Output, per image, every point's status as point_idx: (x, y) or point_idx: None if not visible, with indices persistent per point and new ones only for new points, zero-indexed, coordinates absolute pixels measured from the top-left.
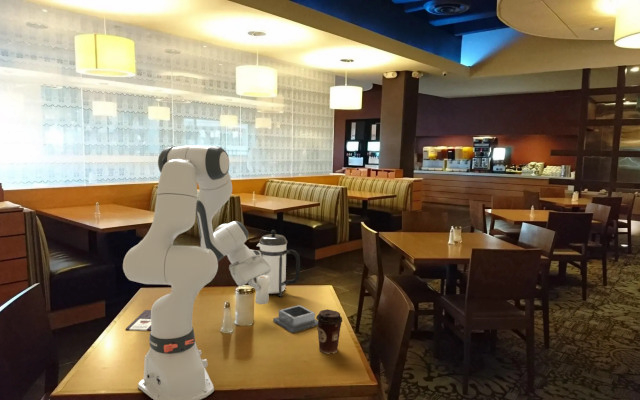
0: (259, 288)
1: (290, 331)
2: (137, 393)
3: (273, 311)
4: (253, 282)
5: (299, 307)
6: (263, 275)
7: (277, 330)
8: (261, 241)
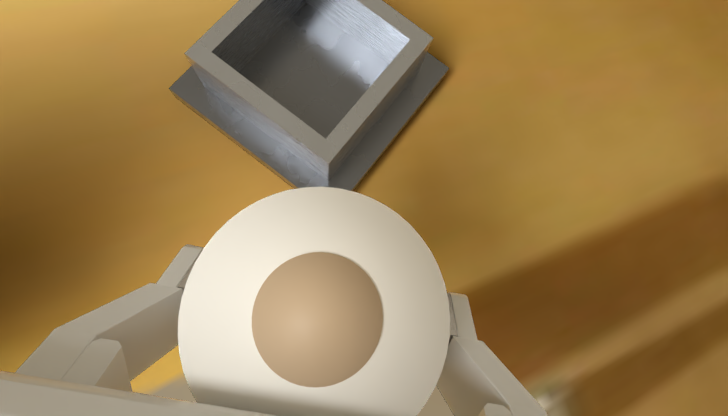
0: (456, 293)
1: (435, 87)
2: None
3: None
4: (533, 399)
5: (216, 53)
6: (198, 342)
7: (438, 156)
8: None
